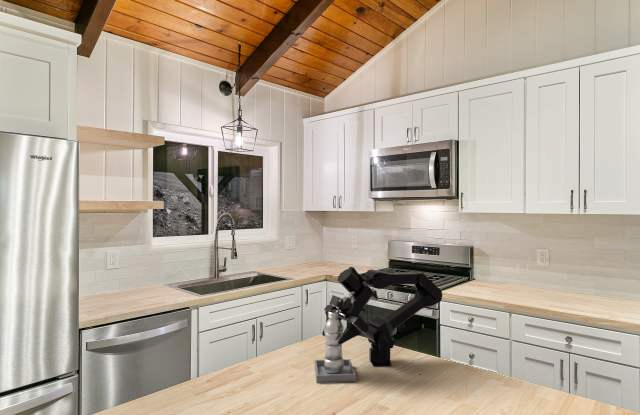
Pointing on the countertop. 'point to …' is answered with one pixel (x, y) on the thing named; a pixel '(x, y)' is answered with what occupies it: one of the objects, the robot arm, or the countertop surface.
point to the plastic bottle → (333, 343)
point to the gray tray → (325, 377)
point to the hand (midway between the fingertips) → (330, 339)
